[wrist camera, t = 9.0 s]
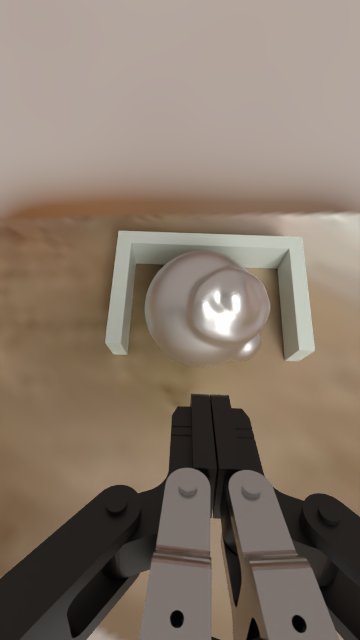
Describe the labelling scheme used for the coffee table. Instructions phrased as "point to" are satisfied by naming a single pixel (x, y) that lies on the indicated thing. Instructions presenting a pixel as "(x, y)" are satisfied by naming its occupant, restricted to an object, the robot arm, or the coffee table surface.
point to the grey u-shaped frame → (241, 248)
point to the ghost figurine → (206, 309)
